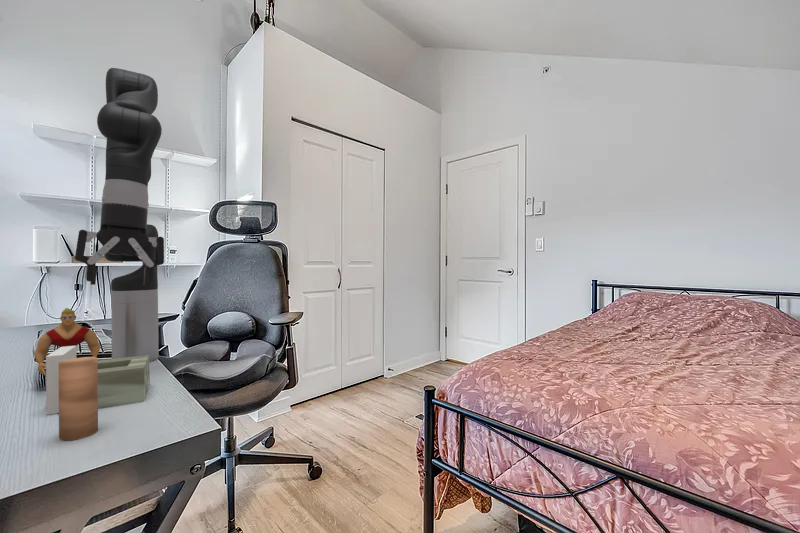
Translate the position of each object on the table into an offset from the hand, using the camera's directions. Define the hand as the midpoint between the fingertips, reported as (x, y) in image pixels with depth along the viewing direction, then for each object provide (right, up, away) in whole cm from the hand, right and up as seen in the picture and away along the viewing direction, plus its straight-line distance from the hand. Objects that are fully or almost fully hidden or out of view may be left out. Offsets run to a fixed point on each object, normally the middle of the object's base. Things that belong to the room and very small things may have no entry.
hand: (120, 284), depth 74 cm
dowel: (+13, -19, -24) cm, 33 cm away
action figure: (-7, -19, -3) cm, 21 cm away
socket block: (+7, -19, -10) cm, 23 cm away
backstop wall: (+1, -19, -14) cm, 24 cm away
